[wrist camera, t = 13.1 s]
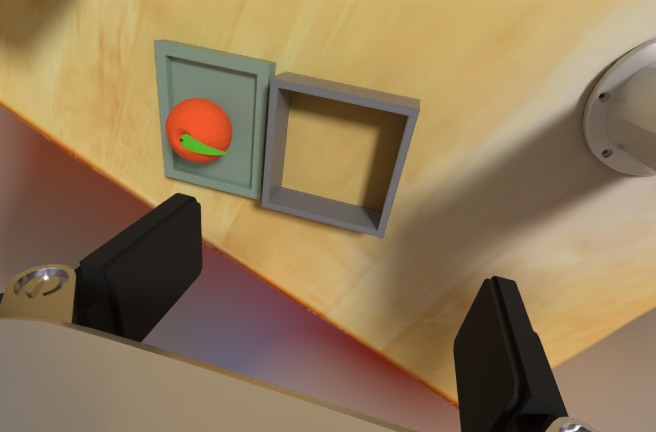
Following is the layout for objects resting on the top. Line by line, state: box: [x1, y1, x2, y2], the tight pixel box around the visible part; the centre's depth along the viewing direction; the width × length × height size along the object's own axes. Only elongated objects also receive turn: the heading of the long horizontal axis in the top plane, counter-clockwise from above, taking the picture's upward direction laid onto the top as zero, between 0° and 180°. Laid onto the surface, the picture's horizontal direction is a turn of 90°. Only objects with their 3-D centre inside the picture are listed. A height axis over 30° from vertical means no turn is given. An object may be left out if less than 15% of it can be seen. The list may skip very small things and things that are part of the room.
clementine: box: [165, 98, 233, 163], centre depth 39 cm, size 8×7×7 cm
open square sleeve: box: [262, 72, 420, 238], centre depth 40 cm, size 15×15×4 cm
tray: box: [154, 40, 276, 200], centre depth 42 cm, size 13×16×2 cm
